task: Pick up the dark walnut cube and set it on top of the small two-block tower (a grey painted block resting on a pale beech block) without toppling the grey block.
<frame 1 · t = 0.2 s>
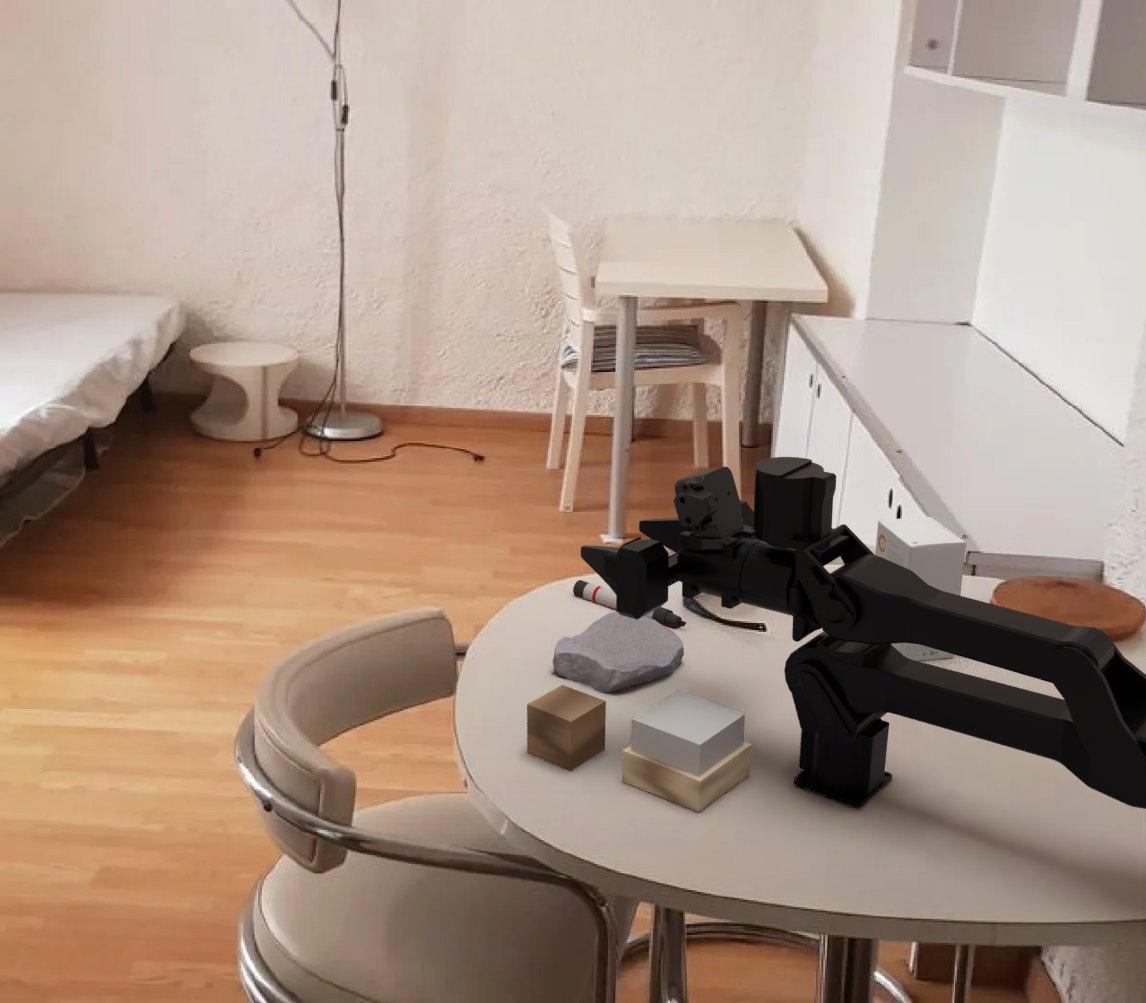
hand: (611, 538, 130), 17 cm above the table, tool horizontal, fingers open, 9 cm apart
small box: (909, 646, 148), on the table
grey block: (687, 747, 121), point 3 cm above the table, touching beech base block
stone block: (622, 672, 142), on the table
marker: (630, 615, 156), on the table
beech base block: (685, 777, 122), on the table
walnut cube: (566, 752, 126), on the table
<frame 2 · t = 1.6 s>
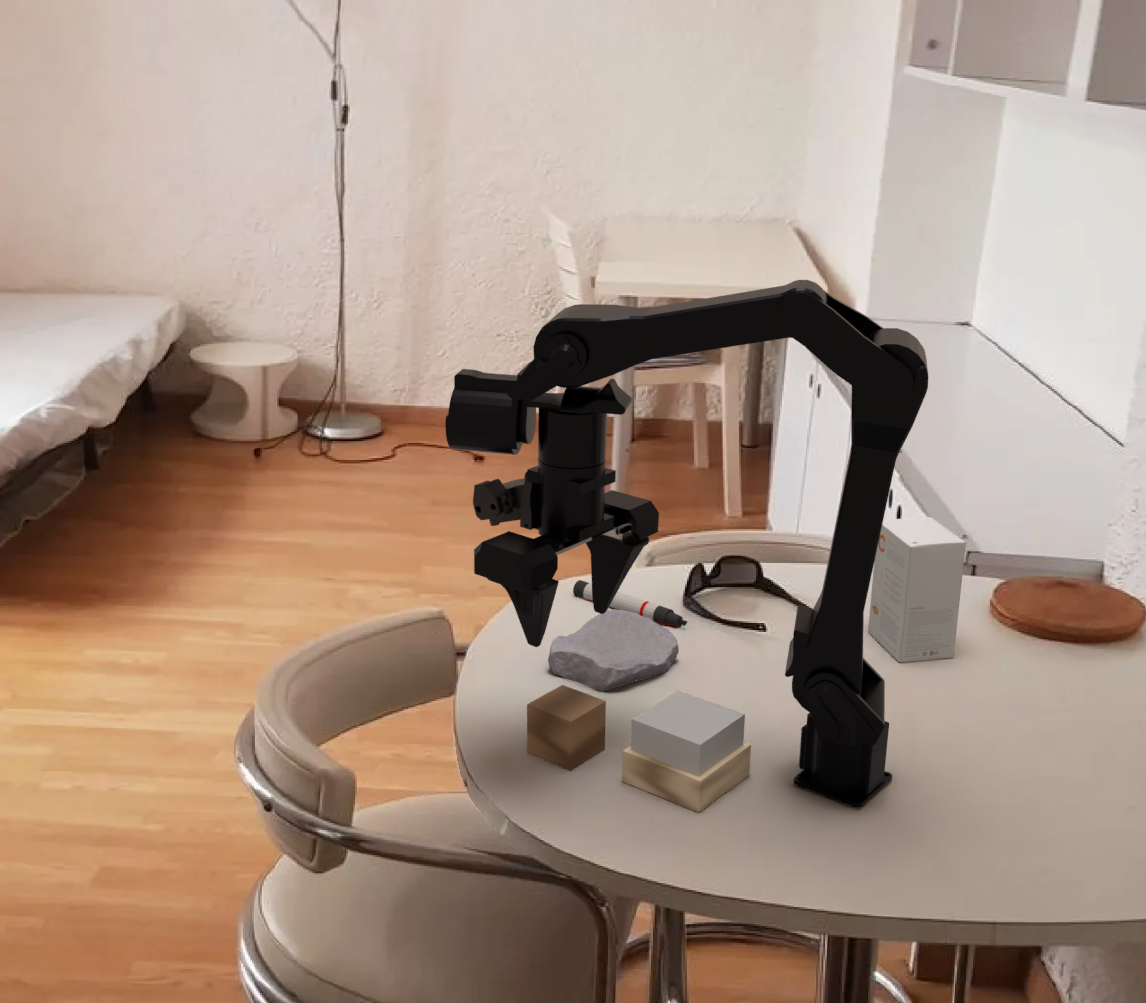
hand: (567, 628, 122), 12 cm above the table, tool pointing down, fingers open, 9 cm apart
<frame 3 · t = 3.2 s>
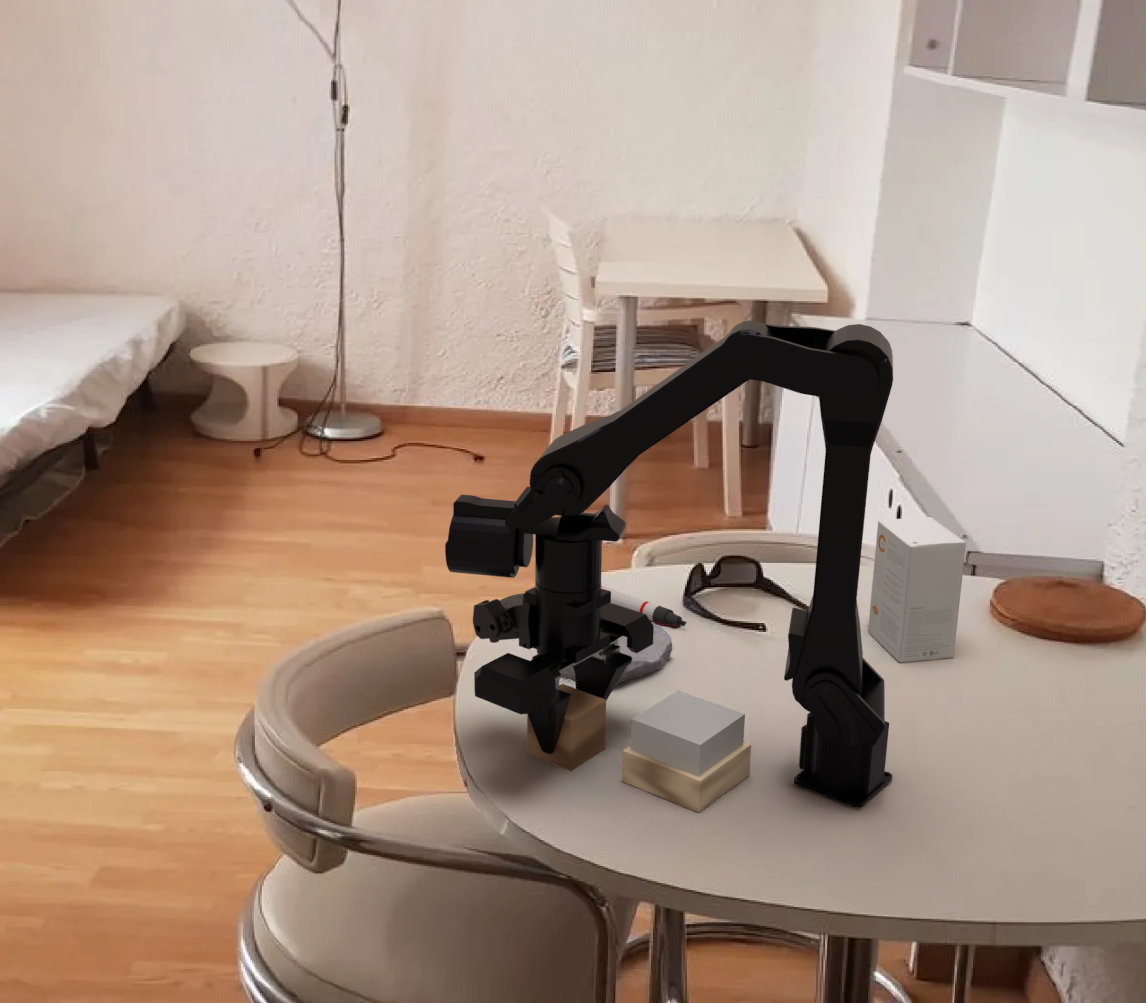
hand: (566, 741, 126), 1 cm above the table, tool pointing down, fingers closed on walnut cube, 5 cm apart
walnut cube: (566, 751, 126), on the table, touching gripper
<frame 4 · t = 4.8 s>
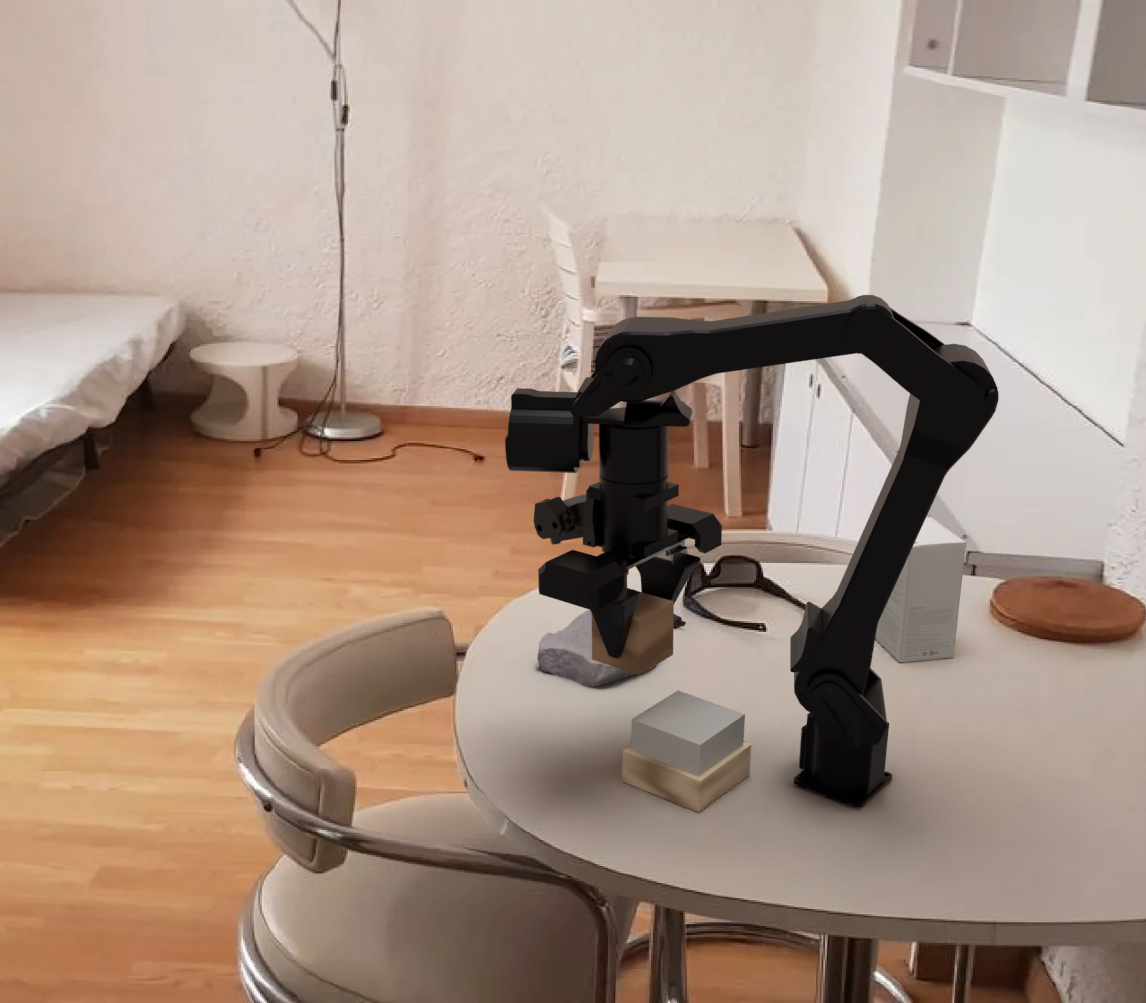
hand: (633, 646, 120), 12 cm above the table, tool pointing down, fingers closed on walnut cube, 5 cm apart
walnut cube: (632, 657, 120), point 11 cm above the table, touching gripper
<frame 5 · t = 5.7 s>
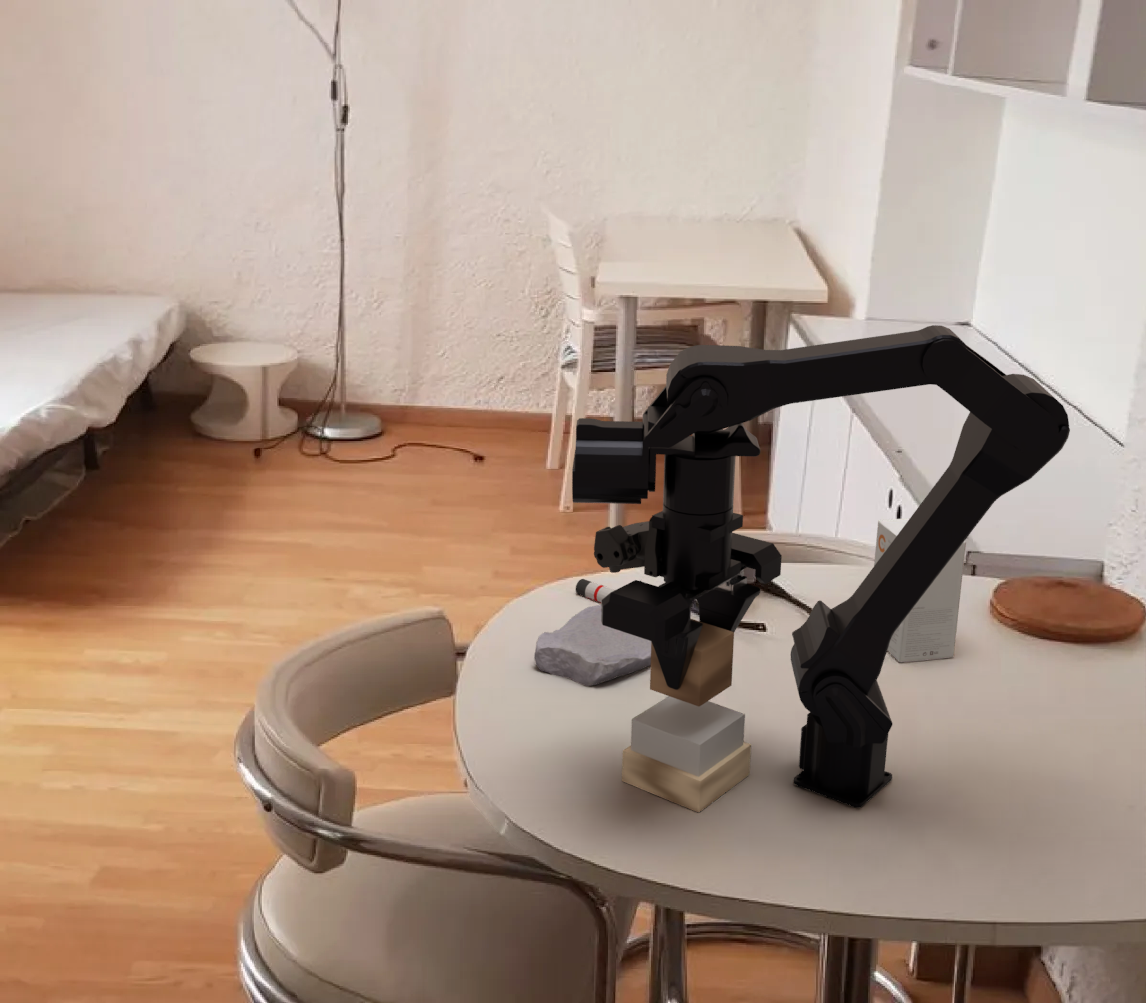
hand: (691, 676, 118), 10 cm above the table, tool pointing down, fingers closed on walnut cube, 5 cm apart
walnut cube: (690, 687, 119), point 9 cm above the table, touching gripper
when the fingers open (8 cm above the table, at t = 6.5 s): walnut cube stays where it is, resting on grey block.
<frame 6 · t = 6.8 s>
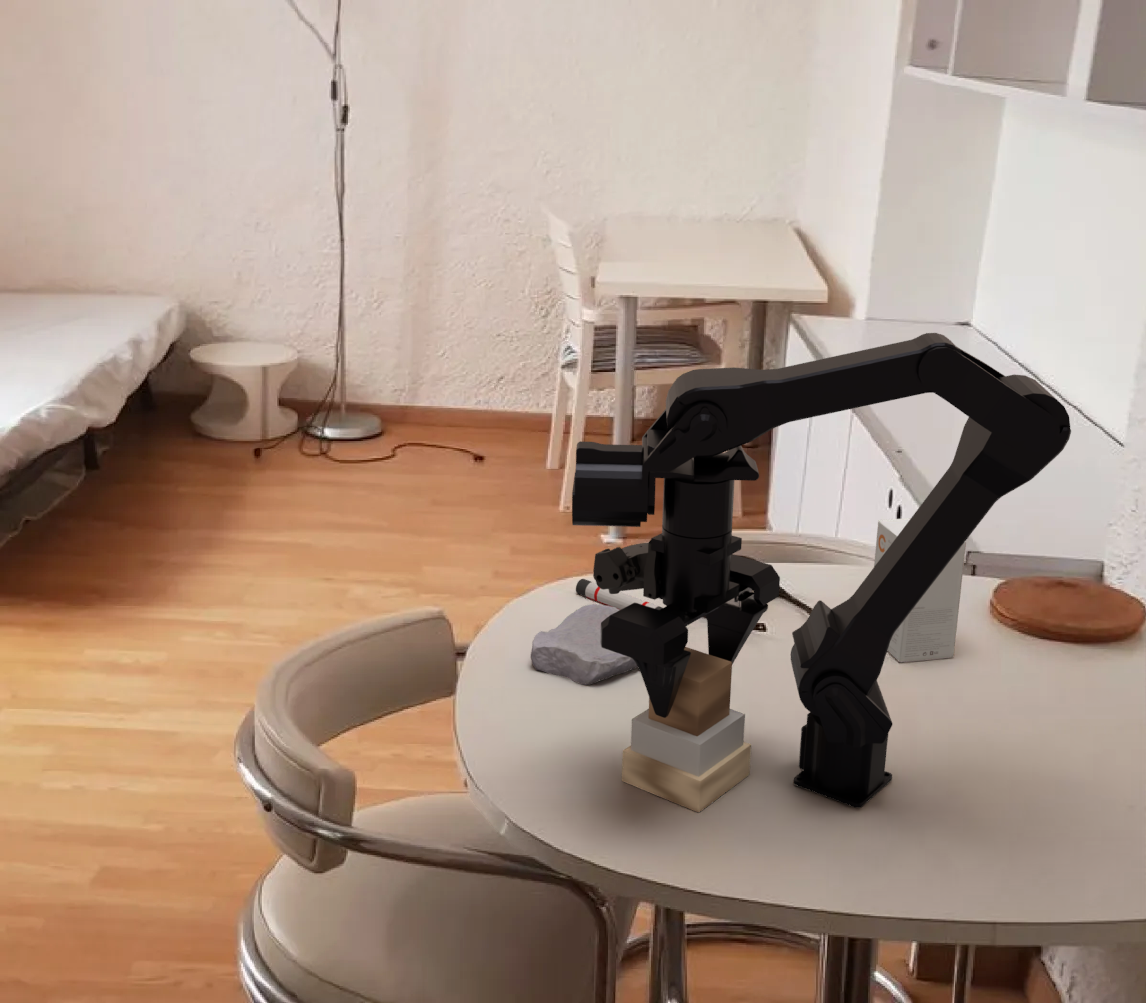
hand: (689, 697, 119), 8 cm above the table, tool pointing down, fingers open, 8 cm apart
grey block: (687, 747, 121), point 3 cm above the table, touching beech base block, walnut cube
walnut cube: (689, 716, 120), point 6 cm above the table, touching grey block
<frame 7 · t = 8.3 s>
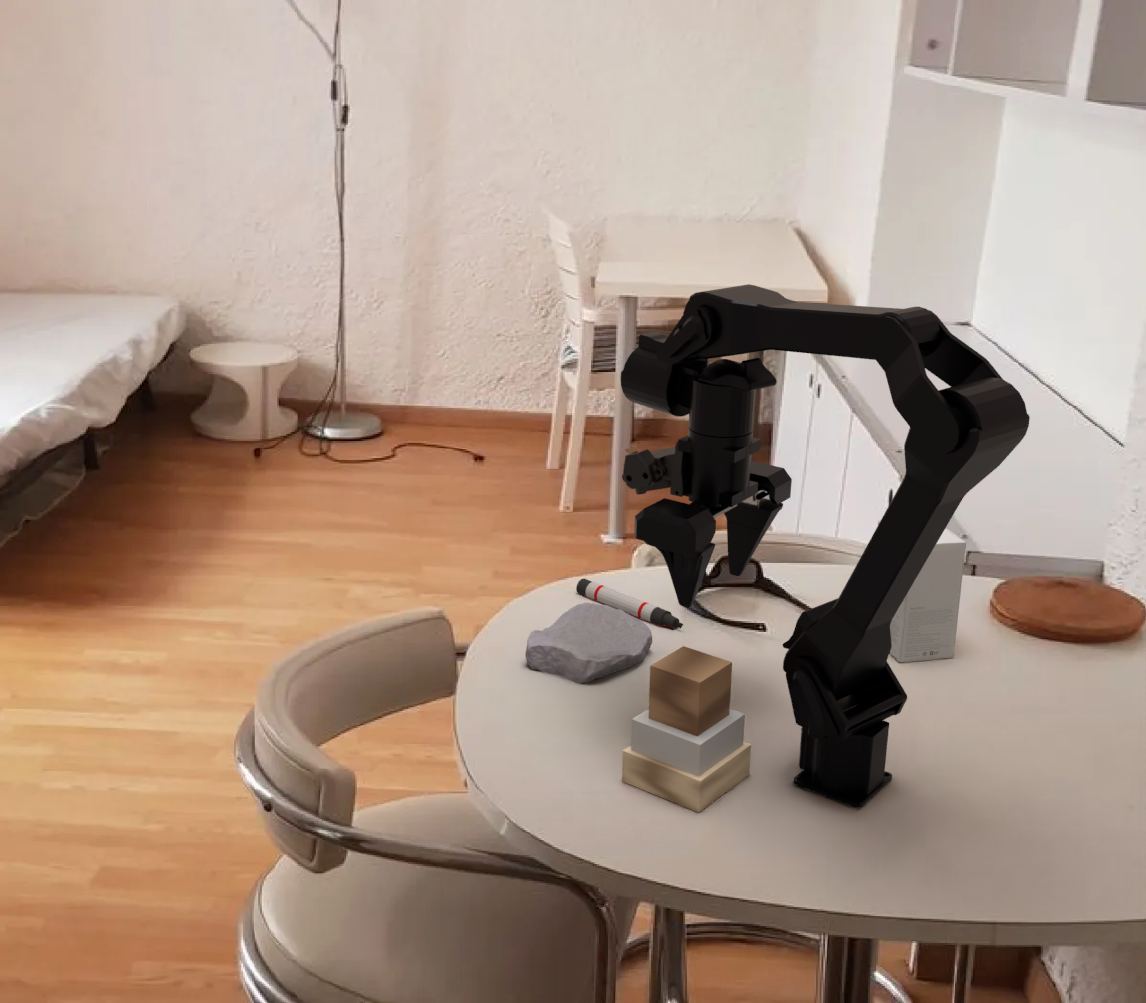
hand: (711, 590, 129), 13 cm above the table, tool pointing down, fingers open, 9 cm apart
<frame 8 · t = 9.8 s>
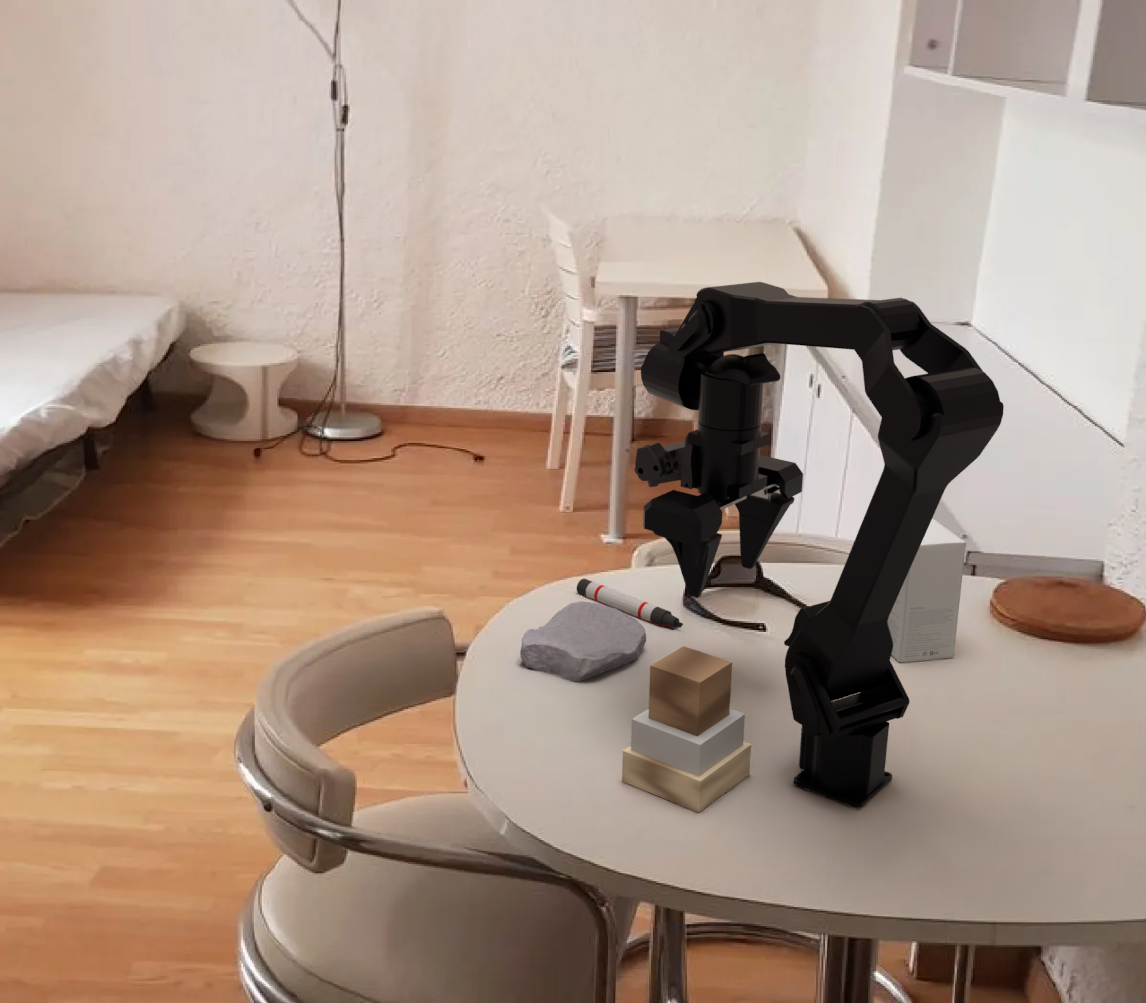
hand: (721, 581, 131), 12 cm above the table, tool pointing down, fingers open, 9 cm apart
at the end: walnut cube 0.0 cm off-centre on the grey block, point 3.0 cm above the grey block's base; grey block tilted 0°; grey block moved 0.0 cm from its start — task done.
